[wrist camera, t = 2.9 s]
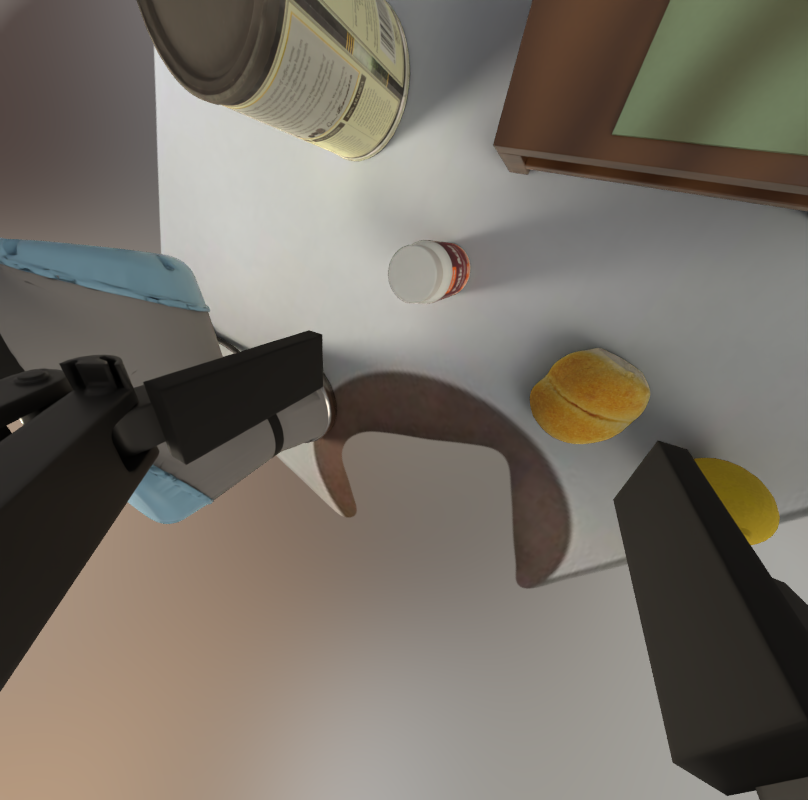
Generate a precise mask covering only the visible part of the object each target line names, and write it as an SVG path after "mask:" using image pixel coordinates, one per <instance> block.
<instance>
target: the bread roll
mask: <svg viewBox="0 0 808 800" xmlns="http://www.w3.org/2000/svg"><path fill="white" fill-rule="evenodd" d="M649 397H650V389H649V386H648V383H647V381H646V379H645V377H644V375H643V373H642V372H641V371H639V370H638V369H637V368H636V367H634V366H633V365H631V364H630V363H628V362H627V361H626V360H624V359H622V358H620V357H618V356H616V355H615V354H612V353H609V352H608V351H606V350H605V349H601V348H594V349H590V350H583V351H577V352H574V353H570V354H568V355H566V356H565V357H563V358H561V359H560V360H558V361H557V362H556V363H555V364H554V365H553V366H552V368H551V369H550V371H549V373H548V374H547V375H546V376H545V377H544V378H543V379H542V380H540V381H539V382H538V383H537V384H536V385H535V386H534V387H533V389H532V391H531V394H530V406H531V410H532V414H533V416H534V418H535V419H536V421H537V422H538V424H539V425H540V426H541V427H542V429H543V430H544V431H546V432H547V433H548V434H549V435H551V436H552V437H554V438H556V439H558V440H561V441H563V442H567V443H573V444H588V443H595V442H600V441H603V440H607V439H610V438H612V437H614V436H615V435H617V434H619V433H620V432H622V431H623V430H624V429H625V428H626V427H628V426H629V425H630V424H631V423H632V422H633V421H634V420H635V419H637V418H638V417H639V416H640V415H641V414H642V412H643V411H644V409H645V408H646V406H647V403H648V401H649Z"/></svg>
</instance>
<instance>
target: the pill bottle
mask: <svg viewBox="0 0 808 800" xmlns="http://www.w3.org/2000/svg"><path fill="white" fill-rule="evenodd" d="M469 276H470V261H469V258H468V256H467V254H466V252H465V251H464V250H463V249H462V248H461V247H460V246H458V245H456V244H452V243H446V242H438V241H430V240H421V241H418V242H415V243H413V244H412V245H407V246H404V247H402V248H401V249H399V250H398V251H397V252H396V253H395V254H394V256H393V257H392V259H391V262H390V264H389V270H388V278H389V283H390V286H391V289H392V290H393V292H394V293H395V295H396V296H397V297H398V298H399V299H401V300H402V301H404V302H407V303H420V304H430V303H434V302H436V301H439V300H442V299H444V298H447V297H450V296H452V295H455V294H457V293H458V292H460V291H461V290H462V289H463V288H464V286H465V285H466V284H467V282H468V279H469Z"/></svg>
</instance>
